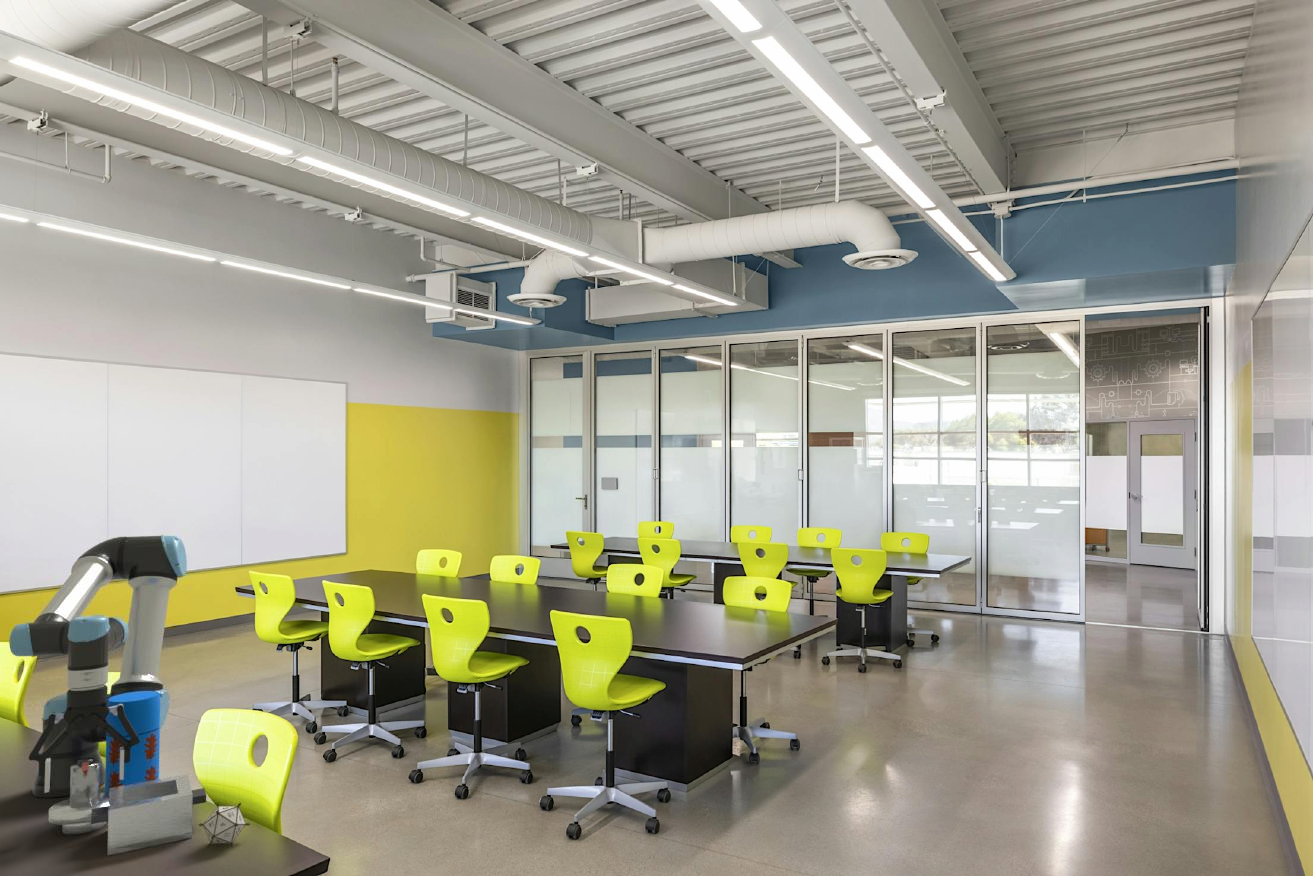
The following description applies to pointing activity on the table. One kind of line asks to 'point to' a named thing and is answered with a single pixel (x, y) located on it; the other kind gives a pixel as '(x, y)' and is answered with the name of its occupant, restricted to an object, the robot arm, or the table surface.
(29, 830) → the table surface
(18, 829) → the table surface
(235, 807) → the game die
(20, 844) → the table surface
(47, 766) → the robot arm
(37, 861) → the table surface
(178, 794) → the base
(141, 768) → the thermos
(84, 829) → the lid
